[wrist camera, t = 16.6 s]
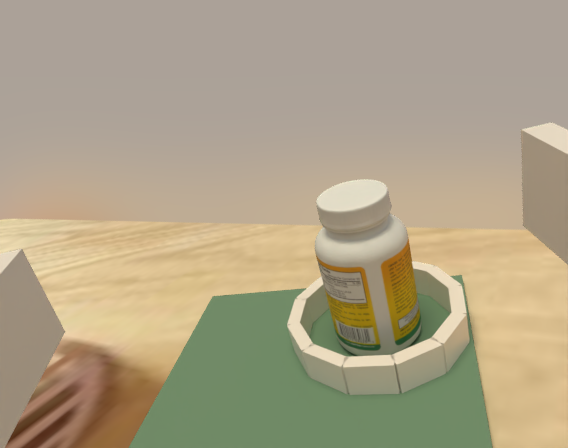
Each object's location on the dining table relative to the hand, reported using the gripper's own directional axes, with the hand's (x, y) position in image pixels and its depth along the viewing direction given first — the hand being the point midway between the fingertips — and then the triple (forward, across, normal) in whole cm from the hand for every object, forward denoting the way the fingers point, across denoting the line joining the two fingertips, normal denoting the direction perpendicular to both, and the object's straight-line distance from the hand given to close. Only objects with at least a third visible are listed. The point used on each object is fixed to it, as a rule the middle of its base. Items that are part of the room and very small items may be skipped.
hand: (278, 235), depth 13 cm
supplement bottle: (+14, +4, -15) cm, 21 cm away
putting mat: (+13, -1, -16) cm, 20 cm away
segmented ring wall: (+14, +4, -16) cm, 21 cm away
